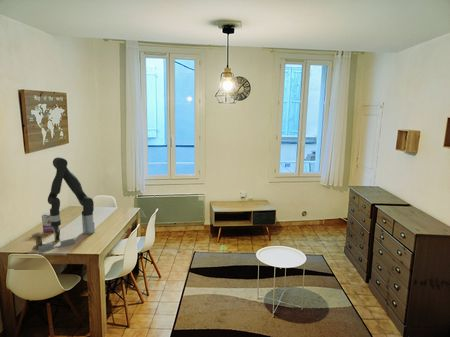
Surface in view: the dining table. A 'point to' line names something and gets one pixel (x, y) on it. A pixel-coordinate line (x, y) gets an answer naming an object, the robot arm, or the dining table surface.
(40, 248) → the notch board
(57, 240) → the tab
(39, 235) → the bobbin
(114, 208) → the dining table surface
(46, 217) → the candy bar box
